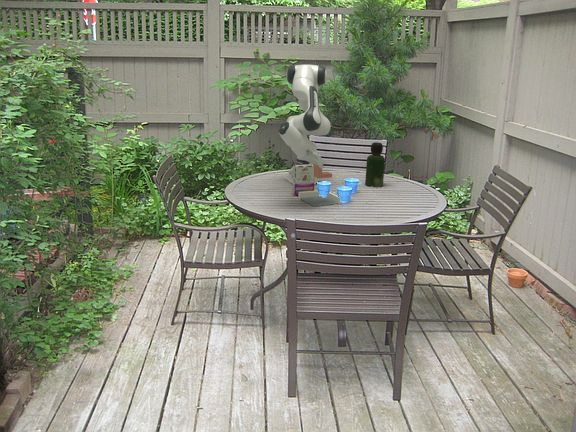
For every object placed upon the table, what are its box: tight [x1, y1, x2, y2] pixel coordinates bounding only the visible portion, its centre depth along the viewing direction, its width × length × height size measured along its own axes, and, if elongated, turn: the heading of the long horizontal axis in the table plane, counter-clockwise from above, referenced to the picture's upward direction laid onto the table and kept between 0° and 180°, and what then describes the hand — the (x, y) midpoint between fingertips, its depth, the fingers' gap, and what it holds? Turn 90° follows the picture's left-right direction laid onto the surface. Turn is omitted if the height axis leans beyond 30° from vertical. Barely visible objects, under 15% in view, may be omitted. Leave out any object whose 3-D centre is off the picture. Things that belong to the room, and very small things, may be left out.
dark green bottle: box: [364, 141, 386, 188], centre depth 370 cm, size 10×10×25 cm
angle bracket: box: [314, 164, 333, 180], centre depth 326 cm, size 5×8×9 cm, turn 116°
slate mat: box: [299, 197, 340, 207], centre depth 332 cm, size 16×14×1 cm
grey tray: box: [297, 190, 342, 205], centre depth 332 cm, size 18×16×4 cm
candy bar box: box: [291, 164, 315, 197], centre depth 343 cm, size 11×5×16 cm, turn 105°
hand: (319, 166), depth 324 cm, fingers closed on angle bracket, 5 cm apart
